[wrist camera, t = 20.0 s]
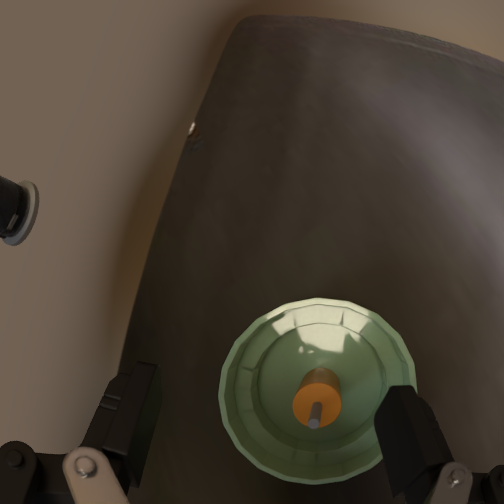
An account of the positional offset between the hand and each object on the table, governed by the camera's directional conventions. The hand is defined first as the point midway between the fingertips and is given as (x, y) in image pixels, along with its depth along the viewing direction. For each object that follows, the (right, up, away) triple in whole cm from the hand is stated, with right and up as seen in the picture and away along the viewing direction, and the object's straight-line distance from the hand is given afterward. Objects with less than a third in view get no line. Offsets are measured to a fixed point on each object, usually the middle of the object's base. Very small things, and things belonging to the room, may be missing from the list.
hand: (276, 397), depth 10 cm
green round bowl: (+5, -7, +17) cm, 19 cm away
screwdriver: (+5, -7, +17) cm, 19 cm away
